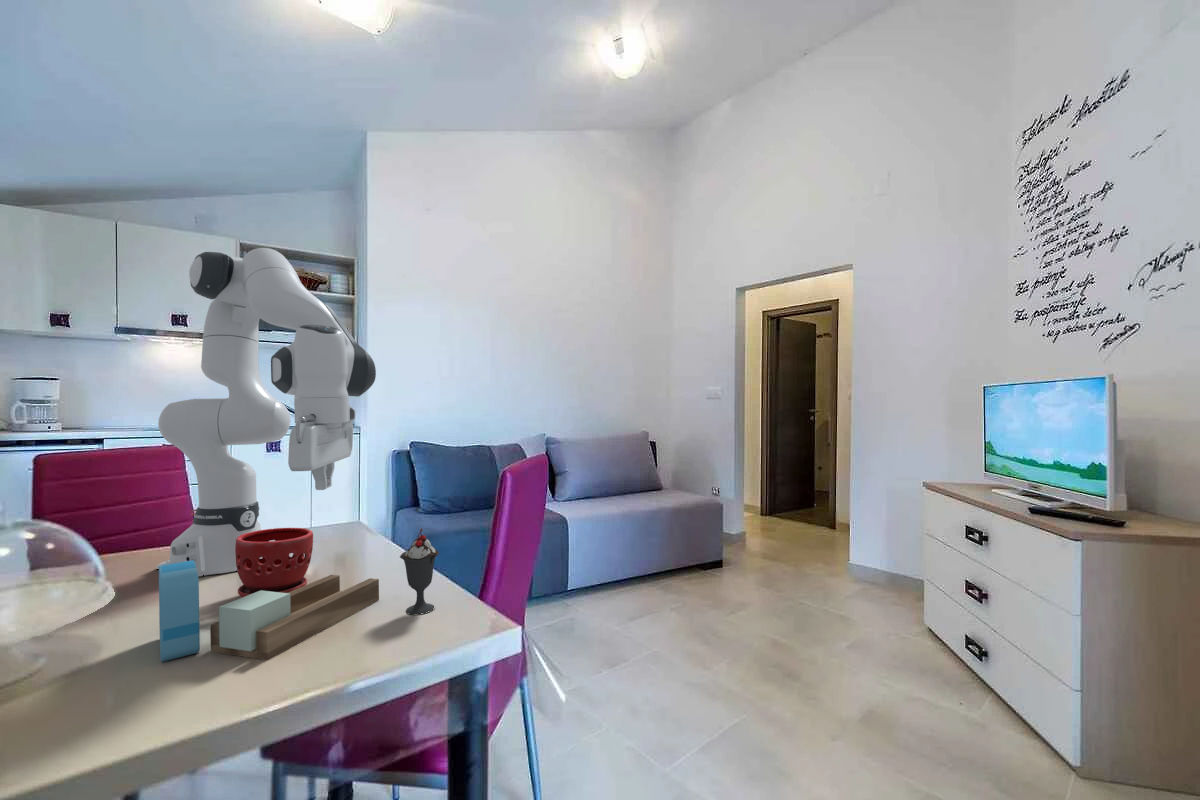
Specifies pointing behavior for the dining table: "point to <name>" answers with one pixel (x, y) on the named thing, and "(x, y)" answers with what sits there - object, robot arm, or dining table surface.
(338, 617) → the chute
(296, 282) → the robot arm
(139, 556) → the dining table surface
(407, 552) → the sundae
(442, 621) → the dining table surface
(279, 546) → the plant pot
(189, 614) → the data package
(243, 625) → the block
